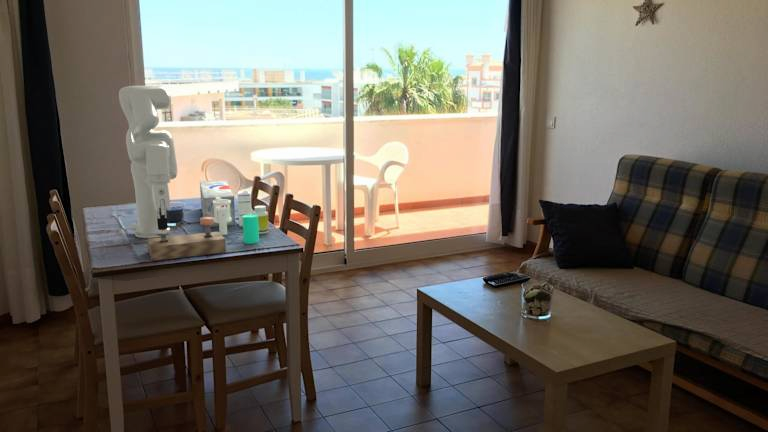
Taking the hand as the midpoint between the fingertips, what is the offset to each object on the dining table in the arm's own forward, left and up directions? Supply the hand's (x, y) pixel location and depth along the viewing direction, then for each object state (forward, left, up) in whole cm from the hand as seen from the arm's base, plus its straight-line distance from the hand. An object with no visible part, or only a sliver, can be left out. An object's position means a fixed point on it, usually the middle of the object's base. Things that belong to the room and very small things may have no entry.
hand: (162, 228), depth 232 cm
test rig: (+6, +5, -10) cm, 13 cm away
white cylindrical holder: (+7, +32, -10) cm, 34 cm away
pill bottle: (+21, +38, -10) cm, 45 cm away
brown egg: (+12, +10, -5) cm, 17 cm away
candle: (+23, +24, -10) cm, 35 cm away
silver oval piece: (0, 0, -7) cm, 7 cm away
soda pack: (-11, +61, -10) cm, 63 cm away
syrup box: (+9, +49, -10) cm, 51 cm away
